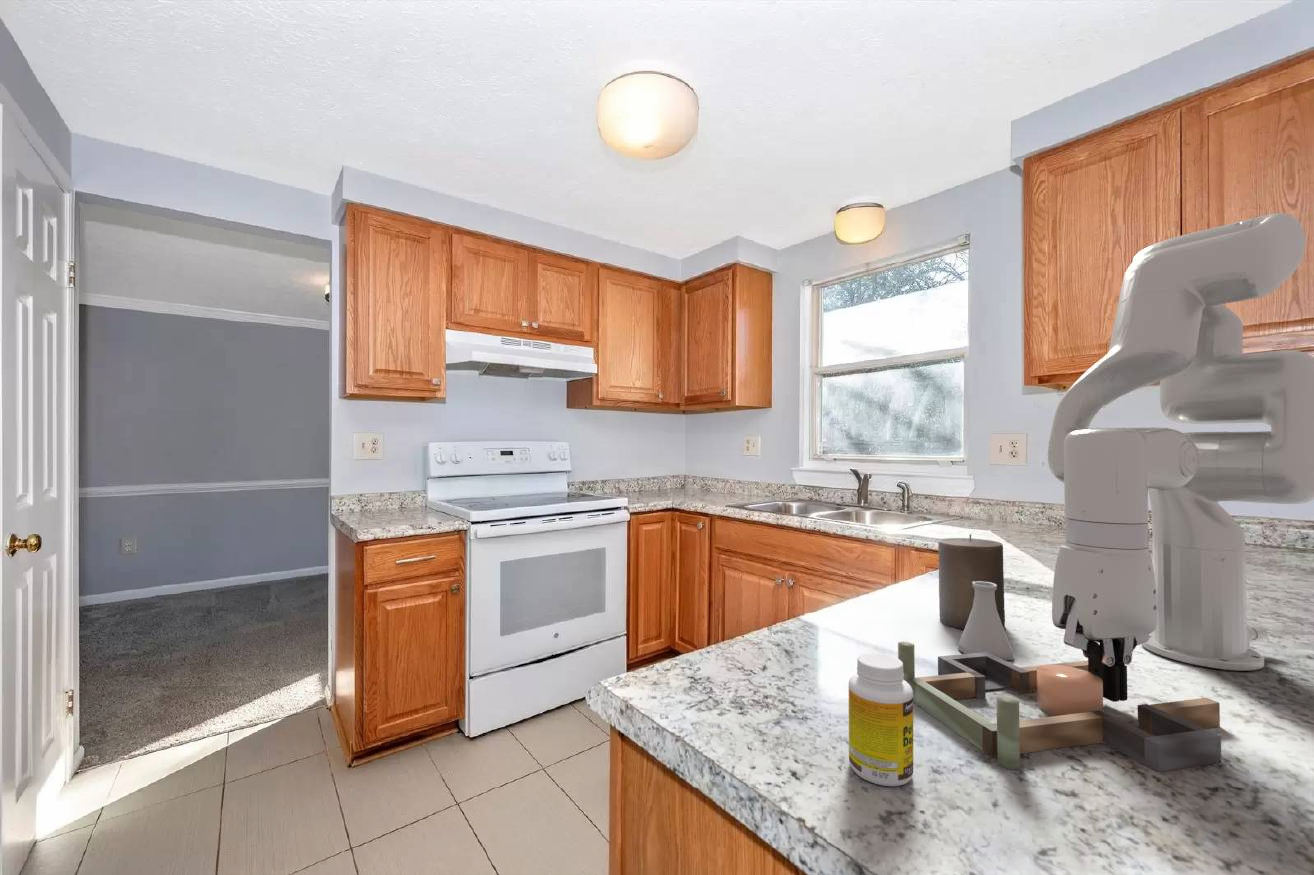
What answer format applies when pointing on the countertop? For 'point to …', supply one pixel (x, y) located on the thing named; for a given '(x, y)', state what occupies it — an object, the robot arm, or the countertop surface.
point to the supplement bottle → (881, 721)
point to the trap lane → (1158, 741)
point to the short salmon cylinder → (1068, 690)
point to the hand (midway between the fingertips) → (1107, 695)
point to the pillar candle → (968, 576)
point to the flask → (985, 625)
